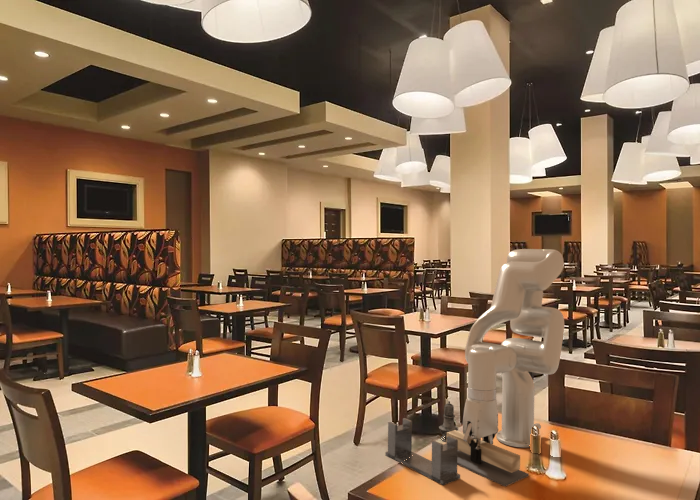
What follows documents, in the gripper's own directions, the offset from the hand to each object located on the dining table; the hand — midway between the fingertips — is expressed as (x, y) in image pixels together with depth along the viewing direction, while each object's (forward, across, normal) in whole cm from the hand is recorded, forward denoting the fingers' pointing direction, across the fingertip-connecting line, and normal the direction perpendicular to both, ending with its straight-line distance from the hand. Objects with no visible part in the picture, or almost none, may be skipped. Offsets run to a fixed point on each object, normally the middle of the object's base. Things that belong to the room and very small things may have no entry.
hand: (480, 459), depth 138 cm
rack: (+2, +14, -9) cm, 17 cm away
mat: (+1, 0, 0) cm, 1 cm away
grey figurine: (+2, -7, -18) cm, 19 cm away
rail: (-1, 0, 0) cm, 1 cm away
